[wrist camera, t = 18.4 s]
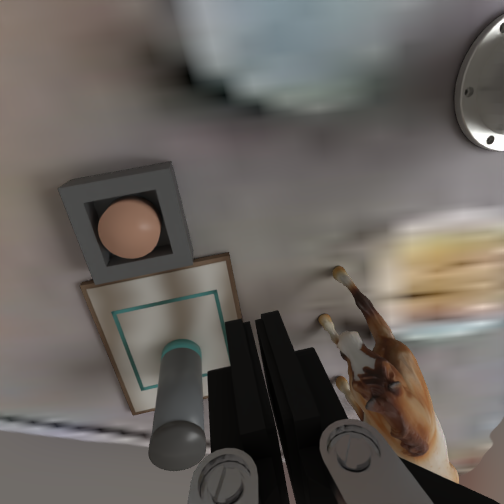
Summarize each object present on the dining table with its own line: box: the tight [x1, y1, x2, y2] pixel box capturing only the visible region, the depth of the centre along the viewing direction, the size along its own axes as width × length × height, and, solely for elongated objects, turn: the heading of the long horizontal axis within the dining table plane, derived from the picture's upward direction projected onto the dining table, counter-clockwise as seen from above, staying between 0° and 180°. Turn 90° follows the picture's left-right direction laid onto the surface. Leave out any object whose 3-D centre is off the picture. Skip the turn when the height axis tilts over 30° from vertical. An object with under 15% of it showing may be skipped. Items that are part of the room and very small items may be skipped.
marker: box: [149, 339, 206, 471], centre depth 35 cm, size 5×5×12 cm
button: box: [98, 196, 162, 259], centre depth 32 cm, size 5×5×2 cm
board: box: [80, 252, 243, 415], centre depth 40 cm, size 15×18×1 cm
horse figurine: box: [319, 266, 459, 484], centre depth 35 cm, size 31×8×21 cm, turn 18°
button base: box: [58, 161, 193, 285], centre depth 32 cm, size 9×9×4 cm
